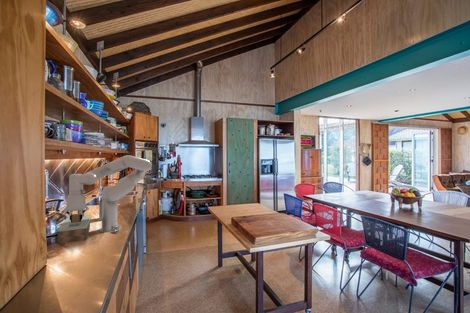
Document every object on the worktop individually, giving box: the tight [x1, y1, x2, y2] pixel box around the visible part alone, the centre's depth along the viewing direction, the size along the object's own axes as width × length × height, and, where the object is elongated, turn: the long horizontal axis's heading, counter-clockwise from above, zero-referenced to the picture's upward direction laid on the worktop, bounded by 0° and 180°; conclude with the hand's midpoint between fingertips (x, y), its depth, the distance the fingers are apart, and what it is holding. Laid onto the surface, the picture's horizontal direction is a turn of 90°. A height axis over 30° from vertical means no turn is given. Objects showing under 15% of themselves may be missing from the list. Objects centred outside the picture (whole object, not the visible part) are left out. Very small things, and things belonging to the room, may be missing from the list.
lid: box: [57, 213, 92, 233], centre depth 150 cm, size 14×26×6 cm, turn 28°
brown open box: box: [57, 220, 91, 245], centre depth 150 cm, size 14×26×8 cm, turn 28°
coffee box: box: [98, 198, 102, 221], centre depth 192 cm, size 9×6×16 cm
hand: (76, 220), depth 150 cm, fingers closed on lid, 4 cm apart
